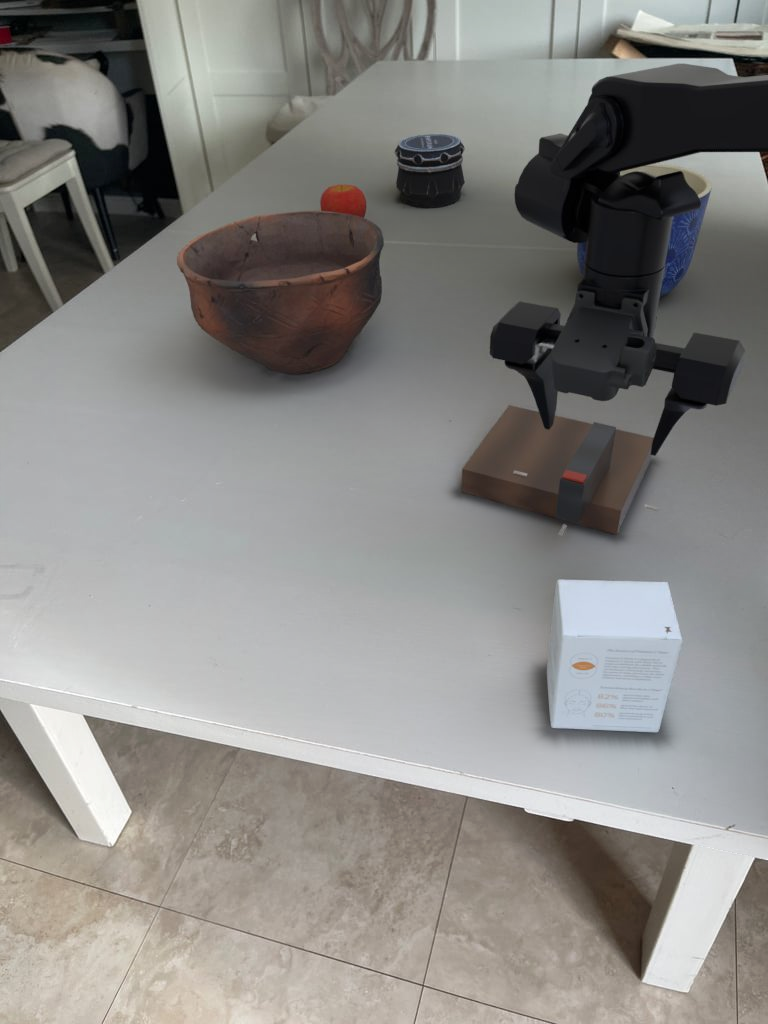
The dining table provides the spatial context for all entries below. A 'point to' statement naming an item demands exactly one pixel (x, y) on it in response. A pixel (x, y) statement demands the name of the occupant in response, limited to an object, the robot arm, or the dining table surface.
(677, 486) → the dining table surface
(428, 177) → the container
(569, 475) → the grey block with red
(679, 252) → the planter
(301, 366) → the bowl
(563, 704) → the small box
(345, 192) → the apple
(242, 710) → the dining table surface
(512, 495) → the base
